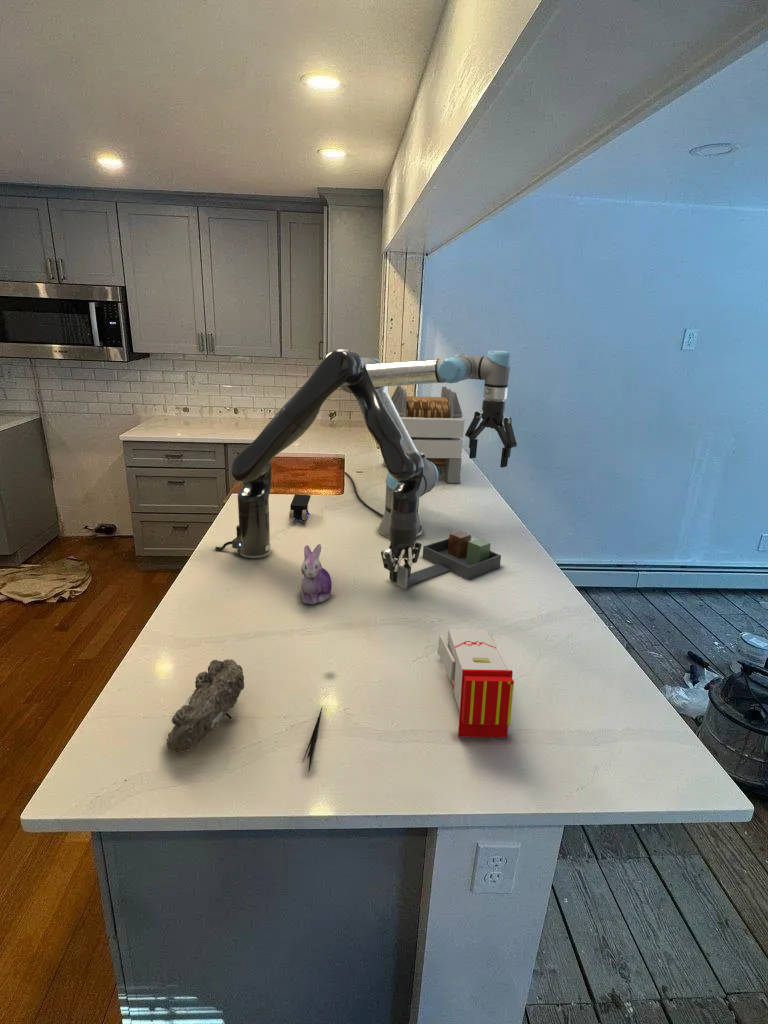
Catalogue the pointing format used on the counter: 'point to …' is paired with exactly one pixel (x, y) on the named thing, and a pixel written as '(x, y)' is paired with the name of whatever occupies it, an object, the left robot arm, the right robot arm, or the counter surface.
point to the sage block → (478, 551)
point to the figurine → (314, 578)
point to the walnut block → (458, 543)
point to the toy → (478, 682)
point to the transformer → (434, 428)
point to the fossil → (206, 705)
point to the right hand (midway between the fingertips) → (487, 462)
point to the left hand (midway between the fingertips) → (400, 579)
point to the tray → (445, 565)
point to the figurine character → (299, 507)
